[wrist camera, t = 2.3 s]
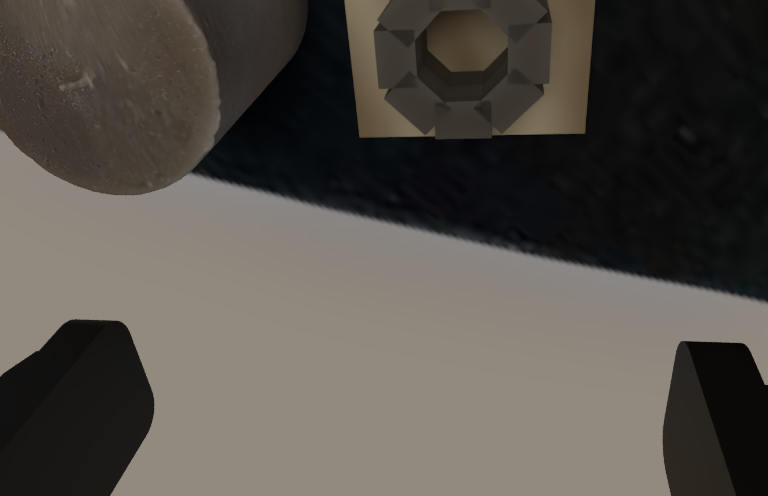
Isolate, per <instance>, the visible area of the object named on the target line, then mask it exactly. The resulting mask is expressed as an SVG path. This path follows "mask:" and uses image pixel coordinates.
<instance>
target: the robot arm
mask: <svg viewBox="0 0 768 496" xmlns="http://www.w3.org/2000/svg"><path fill="white" fill-rule="evenodd" d="M153 415H154V397H153V393H152V390H151V387H150V384H149V382H148V379H147V377H146V374H145V371H144V369H143V366H142V363H141V361H140V358H139V355H138V353H137V350H136V347H135V345H134V343H133V340H132V337H131V334H130V332H129V330H128V328H127V327H126V325H124V324H123V323H122V322H120V321H106V320H77V319H75V320H70V321H68V322H66V323H65V324H63V325H62V326H61V327H60V328H59V329H58V330H57V332H56V333H55V334H54V335H53V336H52V337H51V338H50V339H49V340H48V342H47V343H46V344H45V345H44V346H43V347H42V348H41V349H40V350H39V351H36V352H35V353H33V354H32V355H30V356H29V357H27V358H26V359H24V360H23V361H21V362H20V363H18V364H17V365H15V366H14V367H12V368H11V369H9V370H8V371H7V372H5V373H4V374H3V375H2V376H1V377H0V496H110V495H111V493H112V491H113V490H114V488H115V486H116V485H117V483H118V481H119V480H120V478H121V476H122V475H123V473H124V472H125V470H126V468H127V467H128V465H129V463H130V462H131V460H132V458H133V457H134V455H135V453H136V452H137V450H138V449H139V447H140V445H141V443H142V442H143V440H144V439H145V437H146V435H147V433H148V432H149V429H150V427H151V423H152V420H153ZM663 455H664V464H665V470H666V474H667V479H668V483H669V488H670V492H671V496H768V385H765V384H764V382H763V380H762V377H761V375H760V373H759V370H758V368H757V366H756V363H755V361H754V359H753V357H752V354H751V352H750V350H749V348H748V347H747V346H746V345H745V344H742V343H722V342H691V341H682V342H680V344H679V346H678V348H677V351H676V356H675V362H674V367H673V373H672V379H671V385H670V390H669V396H668V401H667V407H666V413H665V419H664V426H663Z"/></svg>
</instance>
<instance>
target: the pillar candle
mask: <svg viewBox="0 0 768 496" xmlns="http://www.w3.org/2000/svg"><path fill="white" fill-rule="evenodd" d="M307 19H308V0H0V128H1V129H2V130H3V131H4V132H5V133H6V135H7V136H8V137H9V138H10V139H11V140H12V141H13V143H14V145H15V146H16V147H18V148H19V149H20V150H21V151H22V152H23V153H25V154H26V155H27V156H28V157H30V158H32V159H33V160H34V161H35V162H36V163H37V164H39V165H40V166H42V168H44V169H45V170H46V171H48V172H50V173H51V174H53V175H55V176H57V177H59V178H61V179H63V180H65V181H67V182H69V183H71V184H74V185H76V186H79V187H82V188H85V189H88V190H91V191H94V192H100V193H106V194H113V195H139V194H144V193H149V192H152V191H156V190H159V189H162V188H165V187H167V186H169V185H171V184H173V183H174V182H176V181H178V180H180V179H182V178H183V177H184V176H186V175H187V174H188V173H189V172H190V171H191V170H193V169H194V168H195V167H196V166H197V165H198V163H199V162H200V161H201V160H202V159H203V158H204V157H205V156H206V155H207V154H208V153H209V151H210V150H211V149H212V148H213V147H214V146H215V145H216V144H217V143H218V142H219V140H220V139H221V138H222V137H223V136H224V134H225V133H226V132H227V131H228V130H229V129H230V128H231V126H232V125H233V124H234V123H235V122H236V121H237V120H238V118H239V117H240V116H241V115H242V114H243V113H244V112H245V110H246V109H247V108H248V107H249V106H250V105H251V104H252V103H253V102H254V100H255V99H256V98H257V97H258V96H259V95H260V94H261V93H262V92H263V90H264V89H265V88H266V87H267V86H268V85H269V83H270V82H271V81H272V80H273V79H274V78H275V77H276V76H277V74H278V73H279V72H280V71H281V70H282V69H283V68H284V67H285V65H286V64H287V63H288V62H289V61H290V60H291V59H292V57H293V56H294V54H295V53H296V51H297V50H298V48H299V45H300V43H301V41H302V38H303V36H304V33H305V29H306V23H307Z"/></svg>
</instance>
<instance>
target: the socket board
mask: <svg viewBox="0 0 768 496" xmlns="http://www.w3.org/2000/svg"><path fill="white" fill-rule="evenodd" d="M345 9H346V18H347V27H348V36H349V45H350V54H351V63H352V72H353V81H354V90H355V99H356V108H357V118H358V127H359V136H360V137H415V136H435V139H475V138H491V137H492V135H526V134H581V133H585V125H586V112H587V99H588V87H589V74H590V61H591V48H592V35H593V22H594V9H595V0H345Z"/></svg>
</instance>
